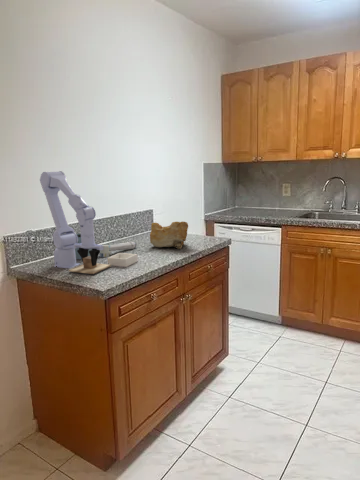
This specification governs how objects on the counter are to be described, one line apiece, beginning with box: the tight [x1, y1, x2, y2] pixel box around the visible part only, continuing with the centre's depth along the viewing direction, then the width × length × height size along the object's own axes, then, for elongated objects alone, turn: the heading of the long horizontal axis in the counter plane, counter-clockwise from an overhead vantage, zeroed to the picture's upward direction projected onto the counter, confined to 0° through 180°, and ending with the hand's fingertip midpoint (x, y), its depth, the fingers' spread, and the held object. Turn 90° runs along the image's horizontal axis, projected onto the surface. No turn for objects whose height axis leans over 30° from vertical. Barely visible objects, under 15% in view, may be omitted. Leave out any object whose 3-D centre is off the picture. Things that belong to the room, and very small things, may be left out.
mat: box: [68, 266, 113, 277], centre depth 162 cm, size 14×14×1 cm
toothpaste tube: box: [98, 241, 137, 258], centre depth 194 cm, size 5×7×25 cm
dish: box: [107, 252, 139, 268], centre depth 171 cm, size 10×10×4 cm
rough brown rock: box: [149, 221, 189, 250], centre depth 204 cm, size 23×17×15 cm
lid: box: [68, 256, 112, 274], centre depth 161 cm, size 13×13×5 cm
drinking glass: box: [75, 232, 92, 260], centre depth 184 cm, size 10×10×12 cm
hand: (90, 264), depth 162 cm, fingers closed on lid, 4 cm apart
